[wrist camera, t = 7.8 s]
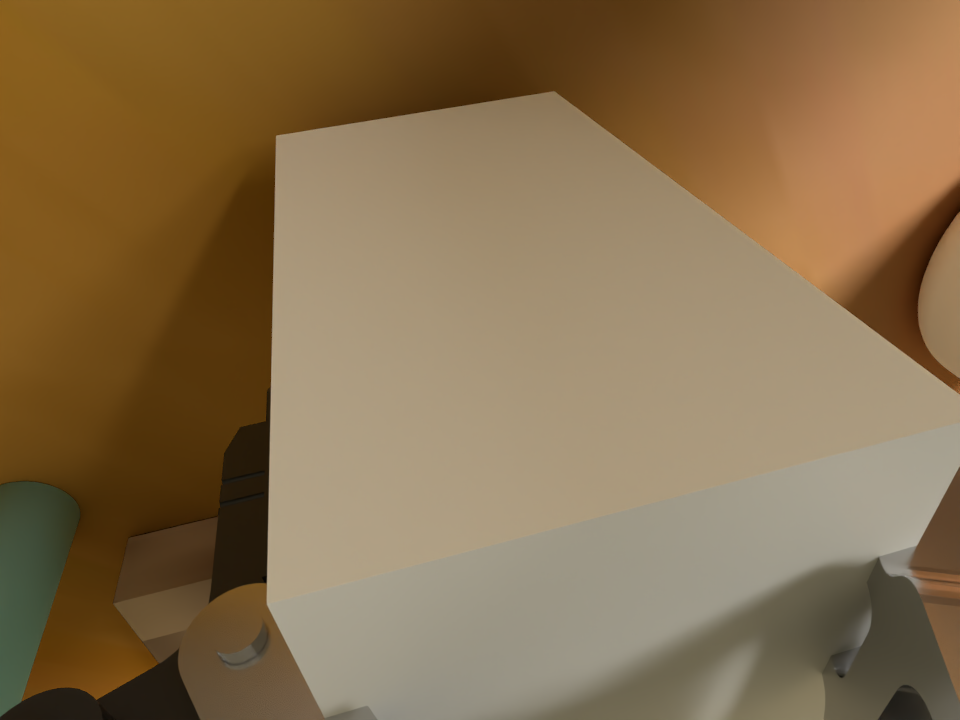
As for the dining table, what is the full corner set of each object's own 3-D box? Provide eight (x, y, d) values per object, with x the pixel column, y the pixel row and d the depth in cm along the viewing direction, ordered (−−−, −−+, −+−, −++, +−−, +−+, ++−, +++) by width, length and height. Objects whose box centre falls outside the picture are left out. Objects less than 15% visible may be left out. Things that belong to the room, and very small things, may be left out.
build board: (376, 478, 22) (384, 534, 20) (411, 609, 27) (421, 664, 25) (128, 537, 21) (112, 603, 19) (212, 663, 25) (207, 725, 24)
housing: (554, 90, 14) (987, 415, 5) (557, 318, 18) (818, 728, 9) (275, 135, 13) (265, 605, 5) (339, 365, 17) (400, 866, 8)
